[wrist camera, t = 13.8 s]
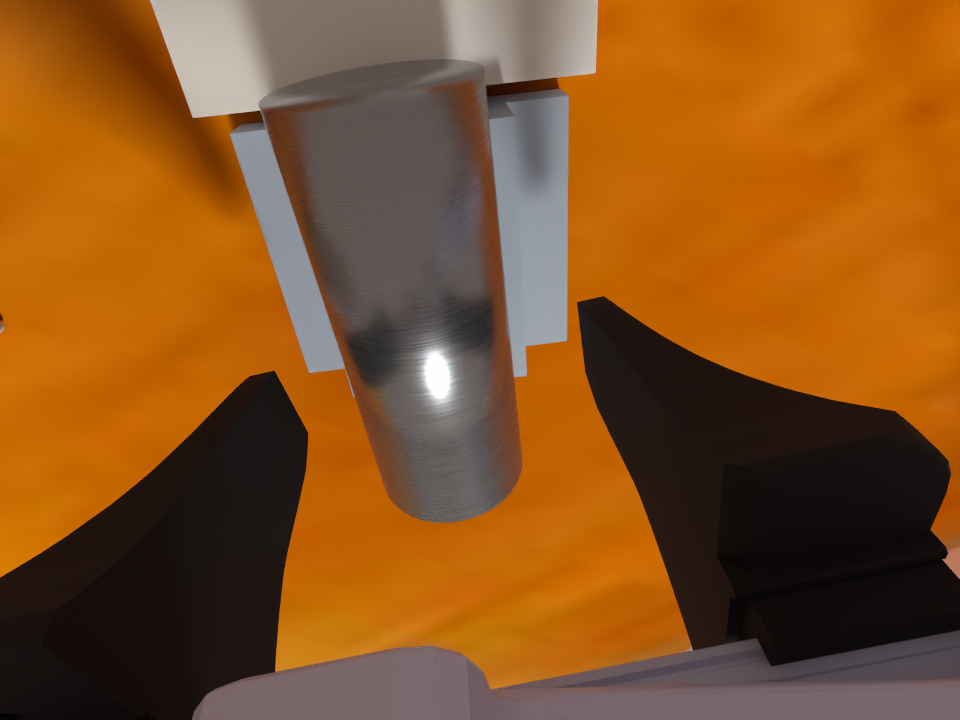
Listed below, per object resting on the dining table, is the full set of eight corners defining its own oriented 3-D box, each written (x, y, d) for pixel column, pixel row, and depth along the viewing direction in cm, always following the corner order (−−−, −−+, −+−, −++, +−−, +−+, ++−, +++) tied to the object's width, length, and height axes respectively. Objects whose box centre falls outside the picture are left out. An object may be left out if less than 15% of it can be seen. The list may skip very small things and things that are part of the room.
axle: (249, 89, 11) (272, 130, 8) (438, 52, 12) (523, 76, 9) (368, 444, 17) (407, 546, 14) (487, 400, 18) (548, 485, 15)
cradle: (559, 88, 14) (584, 108, 12) (559, 324, 18) (578, 369, 16) (240, 124, 14) (210, 150, 12) (314, 354, 18) (300, 404, 16)
